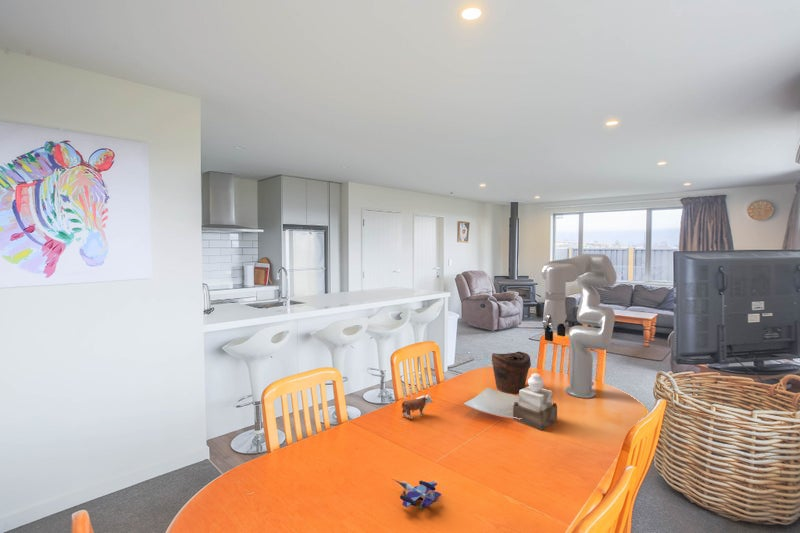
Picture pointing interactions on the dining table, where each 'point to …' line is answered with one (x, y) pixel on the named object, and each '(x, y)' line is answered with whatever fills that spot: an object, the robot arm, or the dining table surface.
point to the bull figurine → (415, 405)
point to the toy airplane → (419, 493)
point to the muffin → (535, 382)
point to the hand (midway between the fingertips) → (555, 338)
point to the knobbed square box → (535, 408)
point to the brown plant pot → (511, 371)
